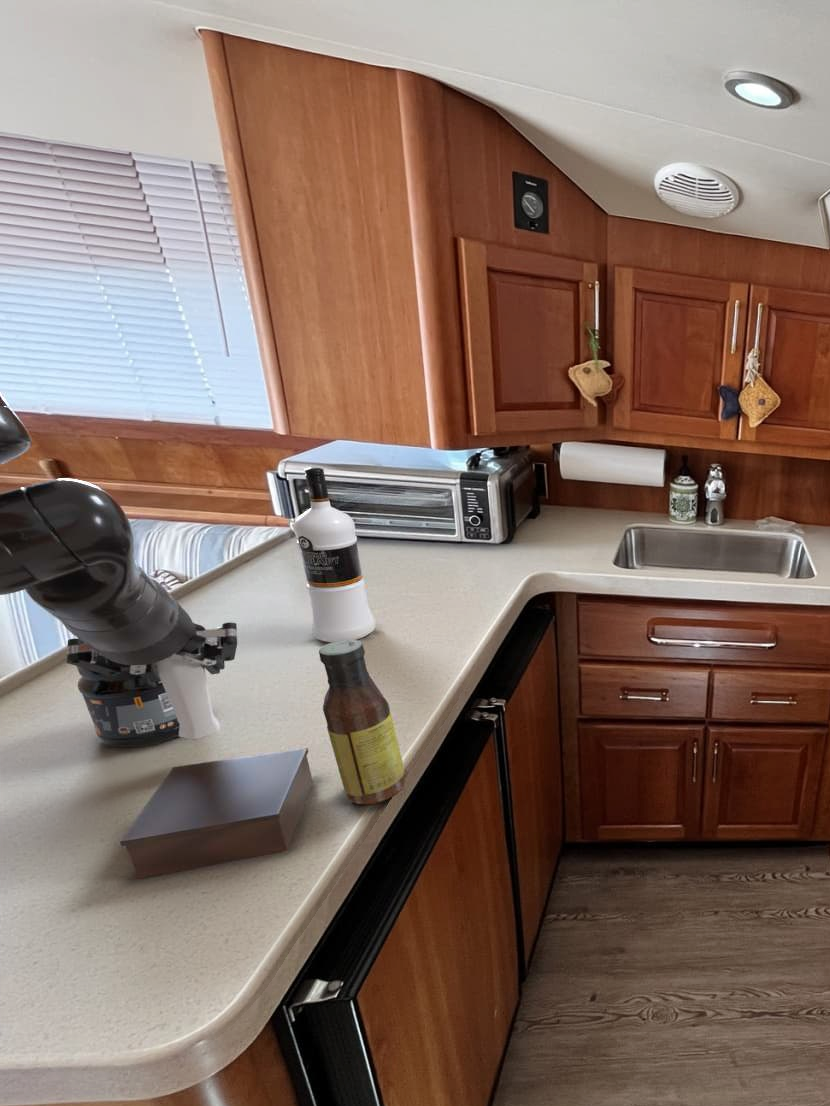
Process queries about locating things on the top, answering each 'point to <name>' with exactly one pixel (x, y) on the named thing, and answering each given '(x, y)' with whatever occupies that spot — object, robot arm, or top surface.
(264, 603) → the top surface
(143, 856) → the box
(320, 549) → the vodka
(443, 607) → the top surface
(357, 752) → the sauce bottle
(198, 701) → the white faceted vase
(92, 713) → the supplement container
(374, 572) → the top surface
